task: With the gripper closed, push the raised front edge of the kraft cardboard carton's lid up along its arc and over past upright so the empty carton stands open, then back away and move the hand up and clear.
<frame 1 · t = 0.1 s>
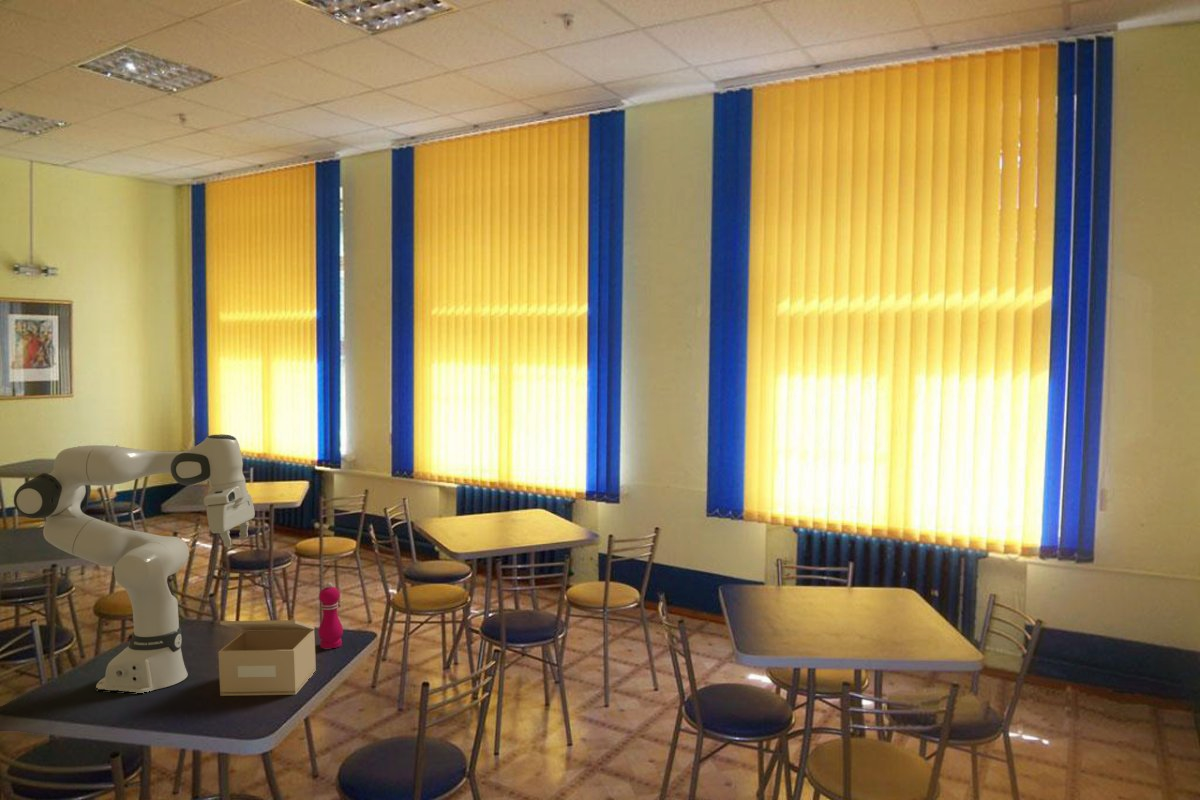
hand: (236, 542, 230), 39 cm above the table, tool pointing down, fingers open, 8 cm apart
pepper mill: (331, 646, 258), on the table
carton lid: (268, 625, 230), point 16 cm above the table, hinge at 25.0°
carton: (269, 683, 230), on the table
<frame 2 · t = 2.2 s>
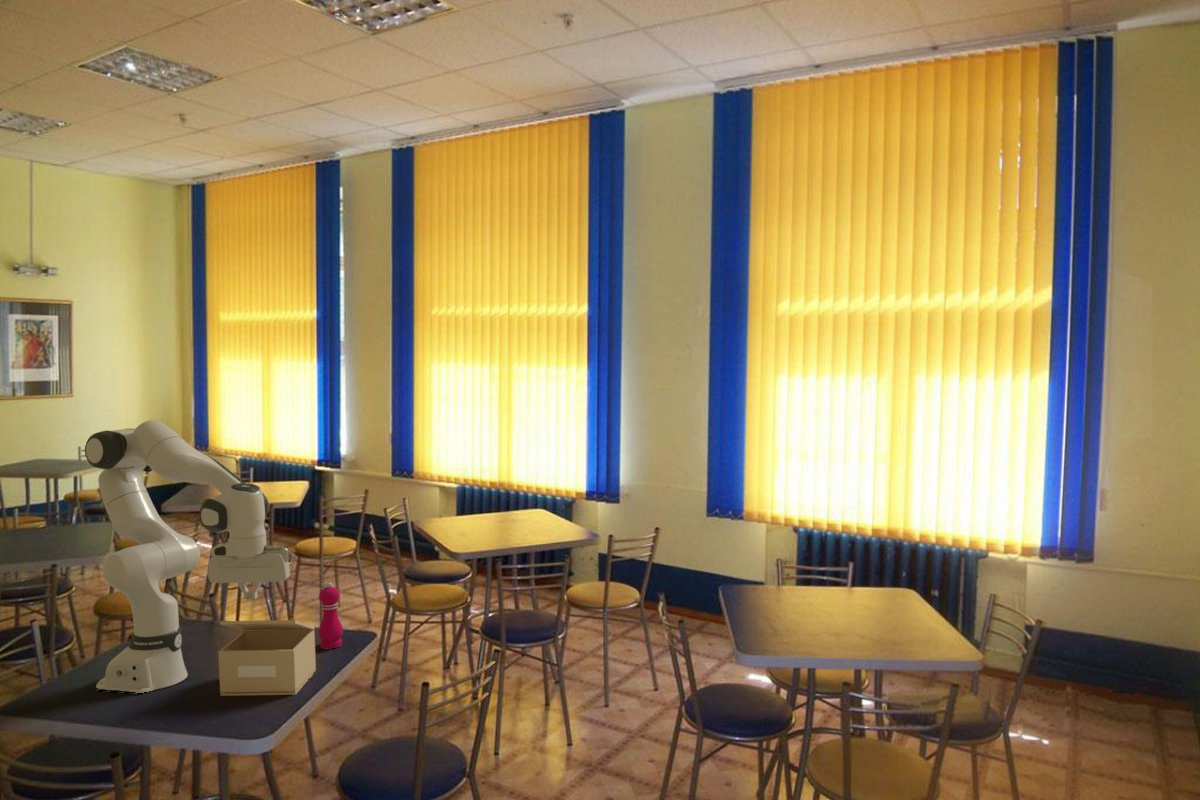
hand: (250, 598, 218), 27 cm above the table, tool pointing down, fingers closed
nothing on the table moved.
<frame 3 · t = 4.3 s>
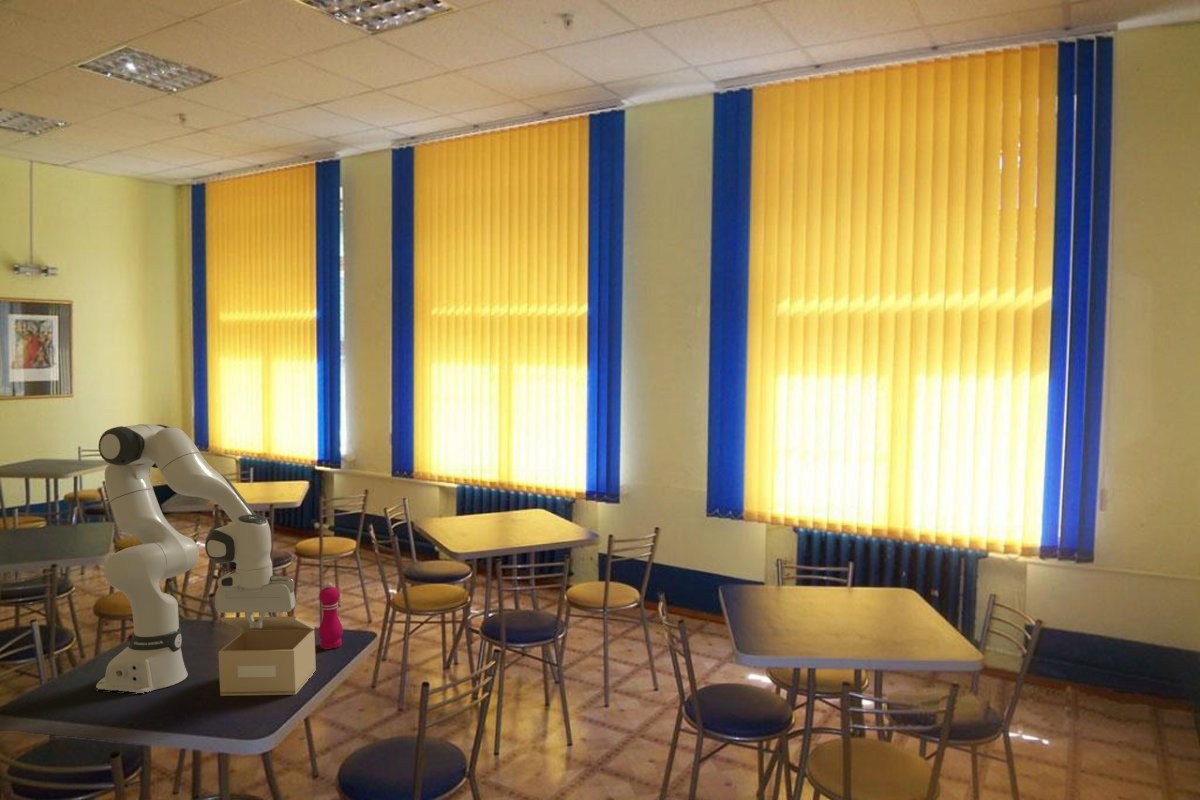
hand: (256, 627, 222), 18 cm above the table, tool pointing down, fingers closed, pressing on carton lid
carton lid: (269, 623, 230), point 16 cm above the table, hinge at 28.5°, touching gripper
everything else where it was.
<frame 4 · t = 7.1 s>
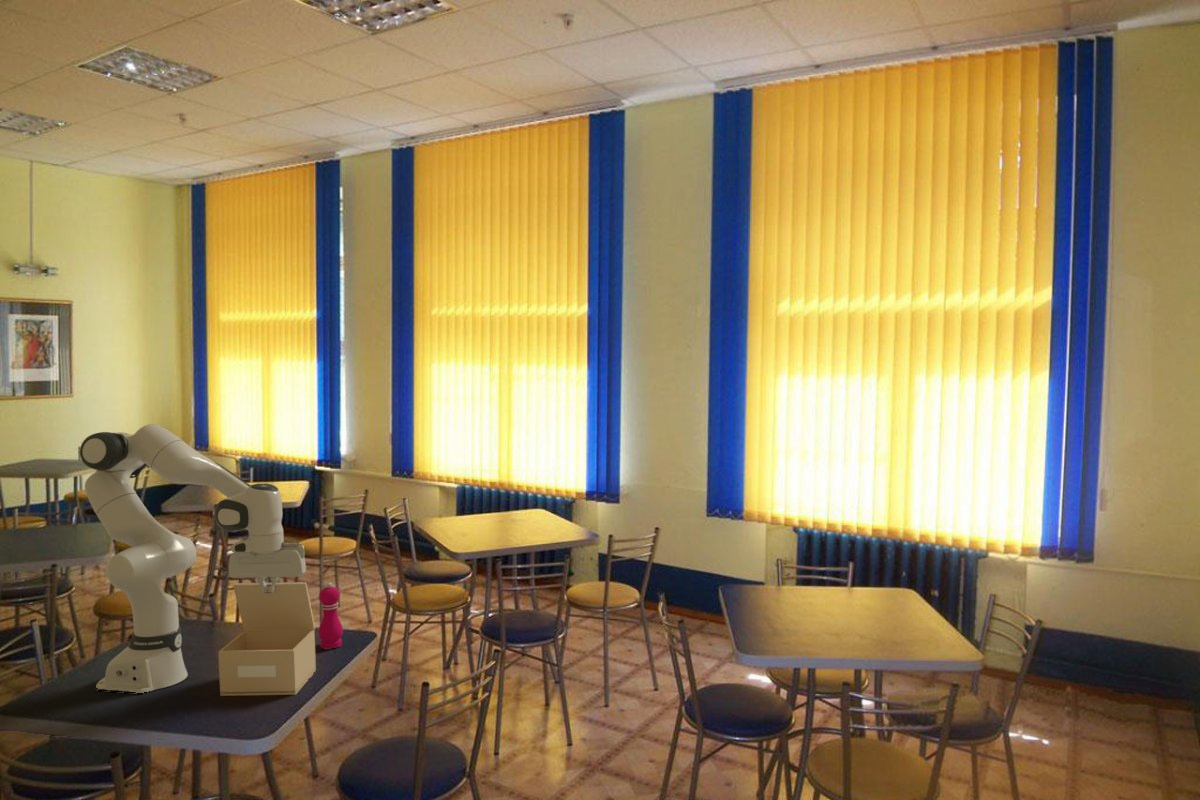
hand: (268, 592, 230), 25 cm above the table, tool pointing down, fingers closed, pressing on carton lid
carton lid: (274, 606, 234), point 20 cm above the table, hinge at 68.6°, touching gripper
everything else where it was.
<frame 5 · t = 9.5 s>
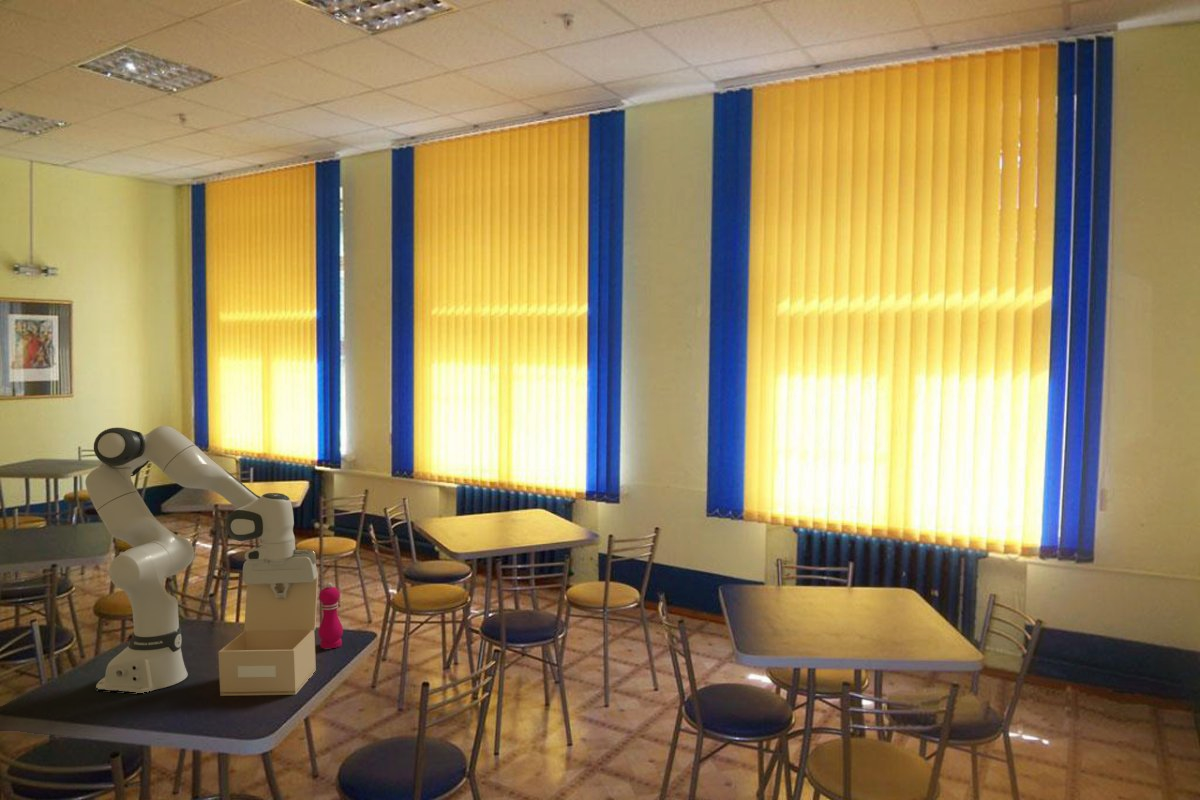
hand: (281, 598, 238), 21 cm above the table, tool pointing down, fingers closed, pressing on carton lid
carton lid: (281, 601, 239), point 20 cm above the table, hinge at 104.8°, touching gripper
everything else where it was.
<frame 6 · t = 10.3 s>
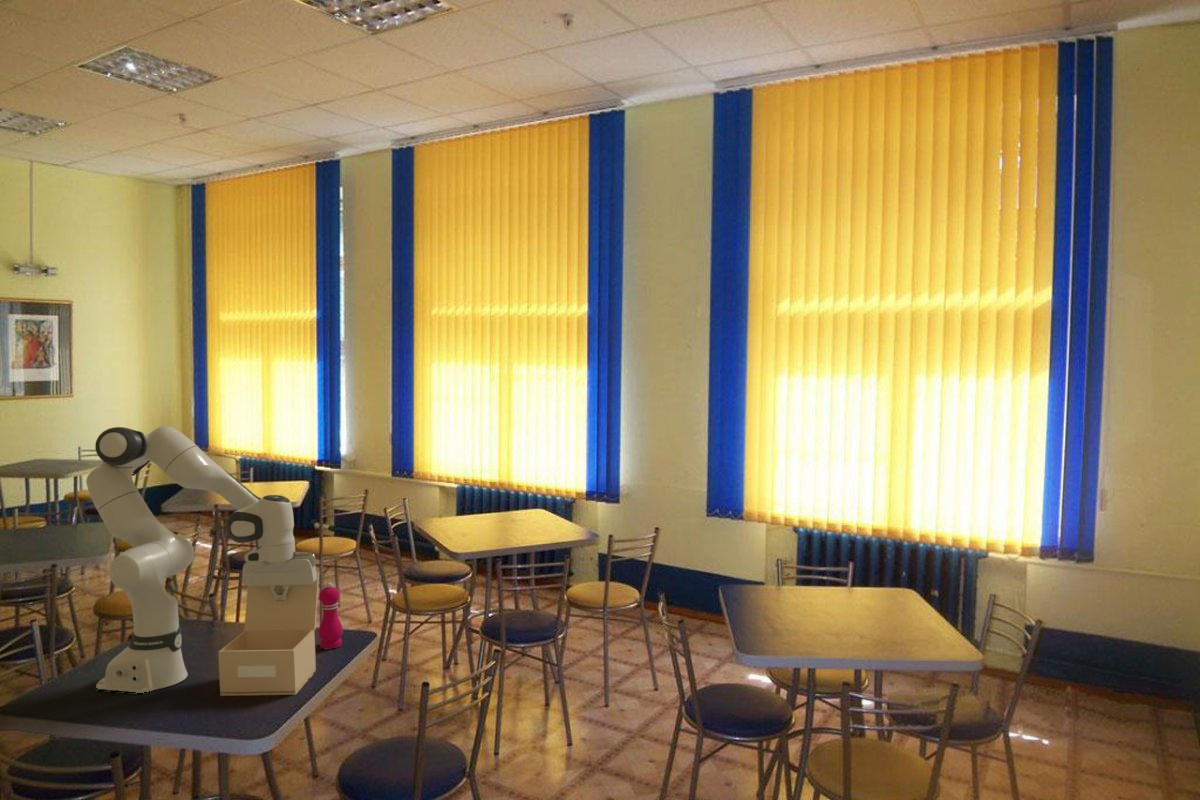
hand: (281, 600, 238), 20 cm above the table, tool pointing down, fingers closed
carton lid: (281, 601, 239), point 19 cm above the table, hinge at 107.5°
everything else where it was.
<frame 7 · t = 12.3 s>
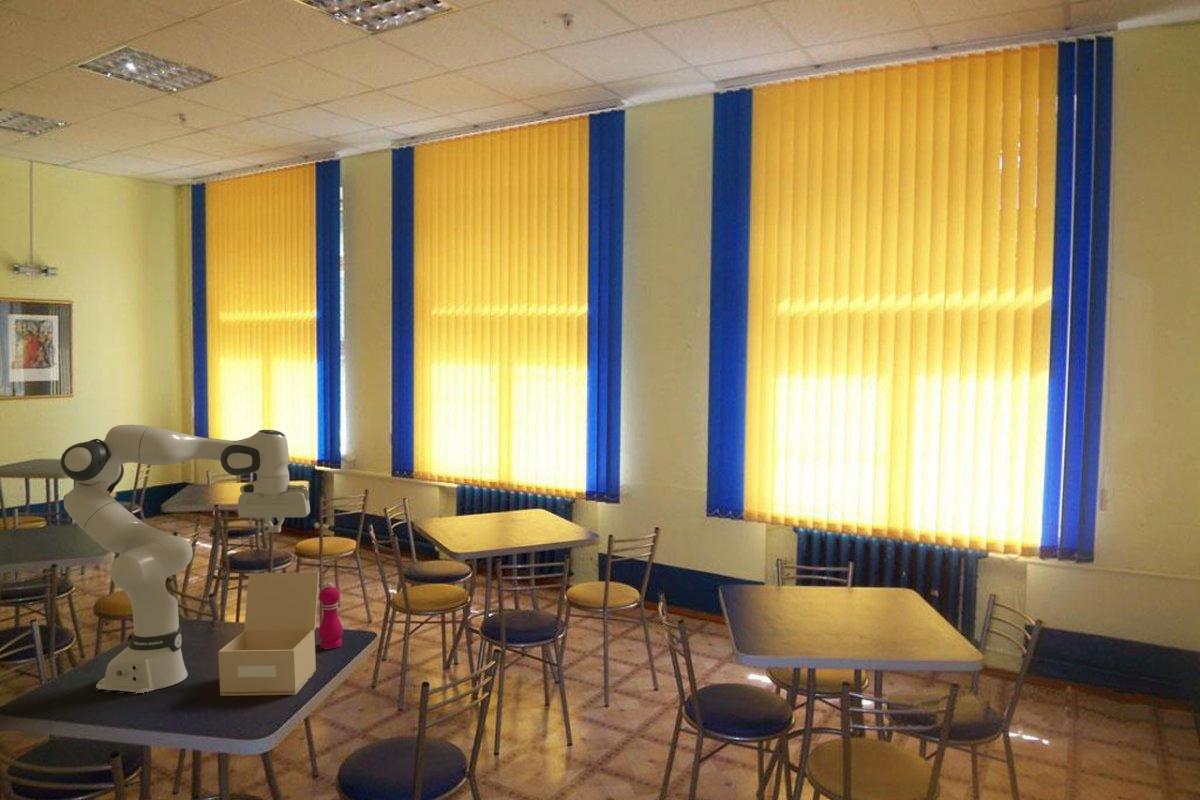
hand: (275, 532, 244), 38 cm above the table, tool pointing down, fingers closed
nothing on the table moved.
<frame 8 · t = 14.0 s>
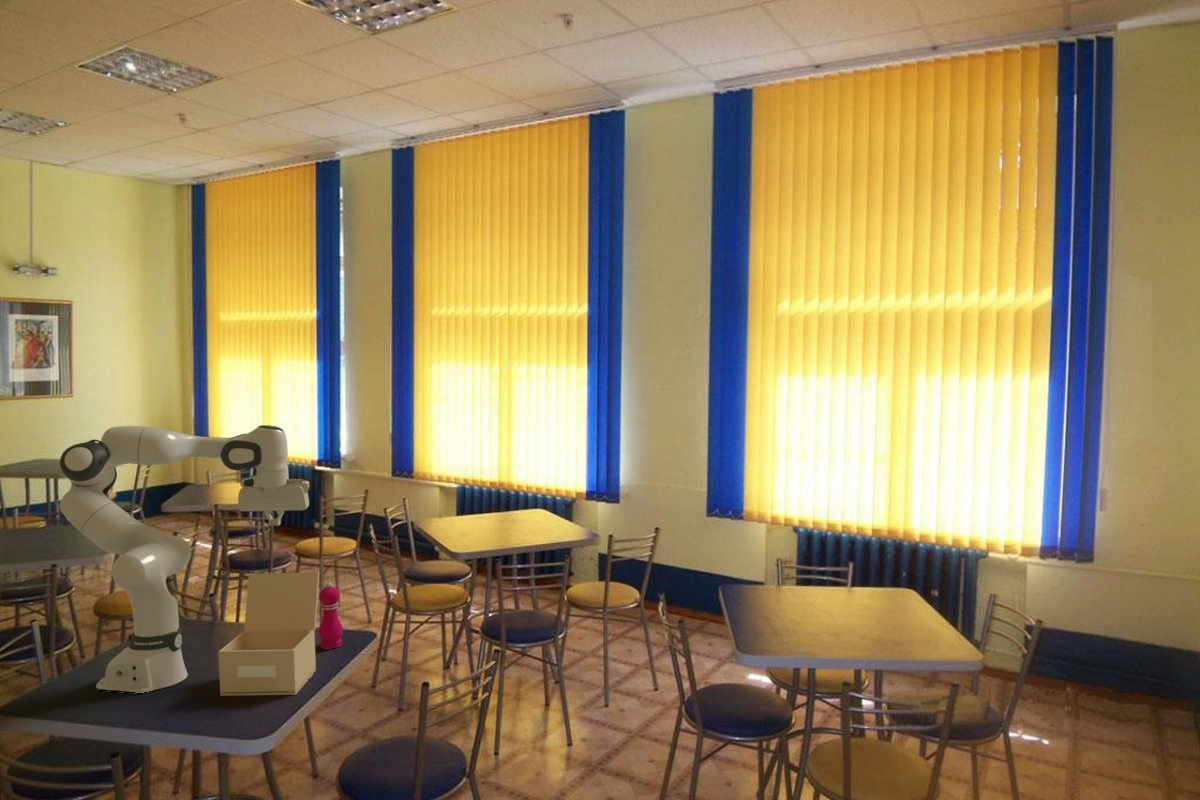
hand: (274, 525, 250), 39 cm above the table, tool pointing down, fingers closed
nothing on the table moved.
at the end: carton lid at +108° (first picture: +25°); the gripper is holding nothing; pepper mill moved 0.2 cm from its start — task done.
